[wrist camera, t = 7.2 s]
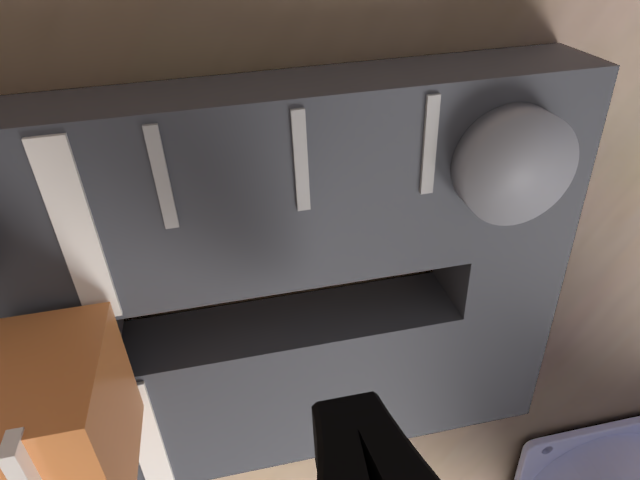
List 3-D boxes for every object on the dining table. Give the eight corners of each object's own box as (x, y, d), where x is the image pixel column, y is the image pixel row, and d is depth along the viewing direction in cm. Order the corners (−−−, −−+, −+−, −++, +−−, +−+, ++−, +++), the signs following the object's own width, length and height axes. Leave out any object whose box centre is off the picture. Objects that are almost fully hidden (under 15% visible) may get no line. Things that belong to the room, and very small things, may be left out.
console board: (559, 42, 14) (644, 74, 11) (495, 364, 21) (540, 432, 18) (-204, 114, 11) (-323, 178, 9) (0, 459, 18) (-33, 555, 15)
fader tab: (120, 244, 14) (80, 443, 9) (150, 345, 16) (130, 556, 11) (25, 257, 14) (-74, 473, 9) (67, 359, 16) (7, 583, 11)
